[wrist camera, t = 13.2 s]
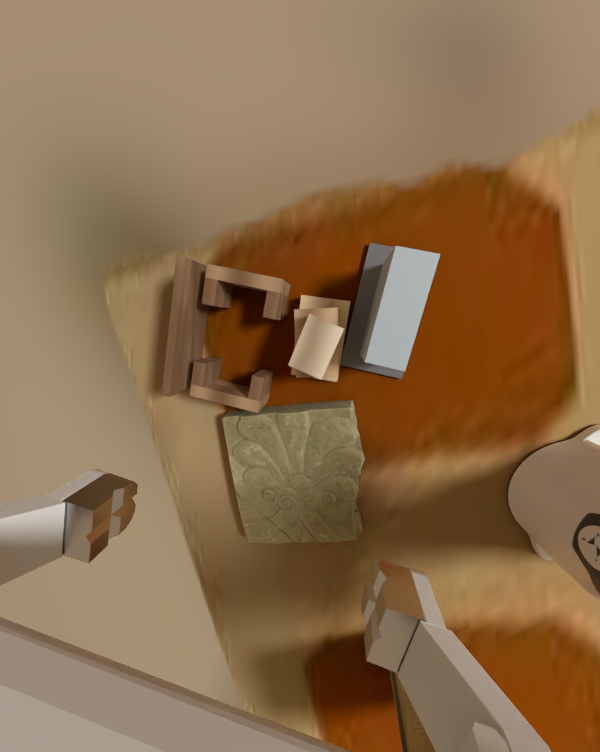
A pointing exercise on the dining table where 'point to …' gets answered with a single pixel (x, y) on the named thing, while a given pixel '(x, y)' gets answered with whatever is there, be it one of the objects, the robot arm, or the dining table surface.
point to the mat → (366, 313)
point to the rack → (188, 329)
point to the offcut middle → (299, 322)
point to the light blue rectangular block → (398, 307)
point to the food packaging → (409, 720)
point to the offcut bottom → (343, 311)
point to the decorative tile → (296, 471)
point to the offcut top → (315, 346)
